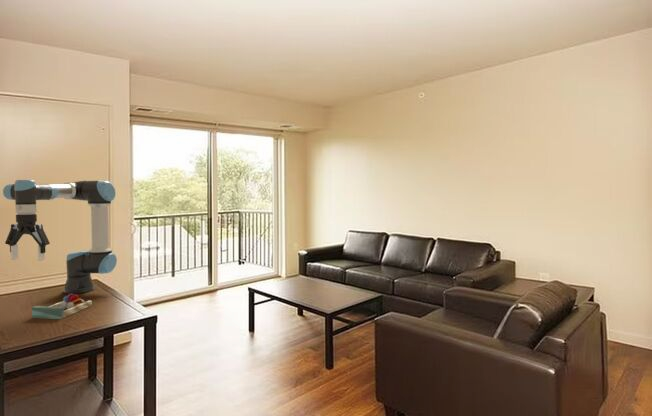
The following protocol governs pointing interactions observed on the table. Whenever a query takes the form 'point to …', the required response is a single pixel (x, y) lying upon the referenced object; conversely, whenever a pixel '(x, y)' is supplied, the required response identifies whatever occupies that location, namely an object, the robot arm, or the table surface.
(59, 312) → the channel
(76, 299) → the rainbow disc toy
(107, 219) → the robot arm
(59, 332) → the table surface
